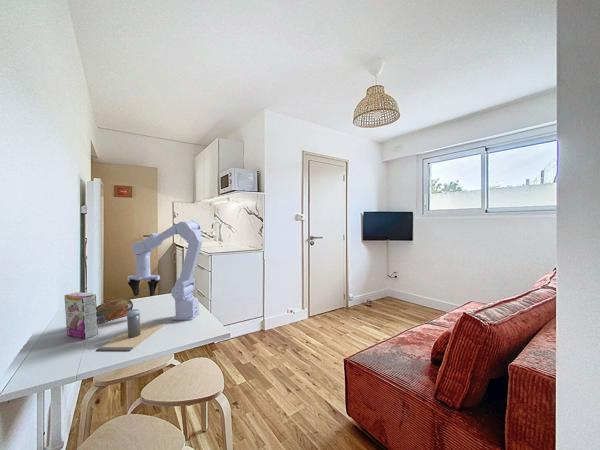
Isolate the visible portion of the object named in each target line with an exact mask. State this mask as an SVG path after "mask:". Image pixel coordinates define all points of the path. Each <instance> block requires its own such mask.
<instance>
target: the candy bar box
mask: <svg viewBox="0 0 600 450" xmlns="http://www.w3.org/2000/svg"><path fill="white" fill-rule="evenodd" d="M63 296H64V307H65V308H64V309H65V325H66V327H65V328H66V336H68V337H72V338H78V339H82V340H88V339H90V338H92V337H94V336H97V335H99V330H98V329H99V328H98V327H99V326H98V321H97V294H95V293H89V292H82V291H75V292H71V293H67V294H65V295H63Z"/></svg>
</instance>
